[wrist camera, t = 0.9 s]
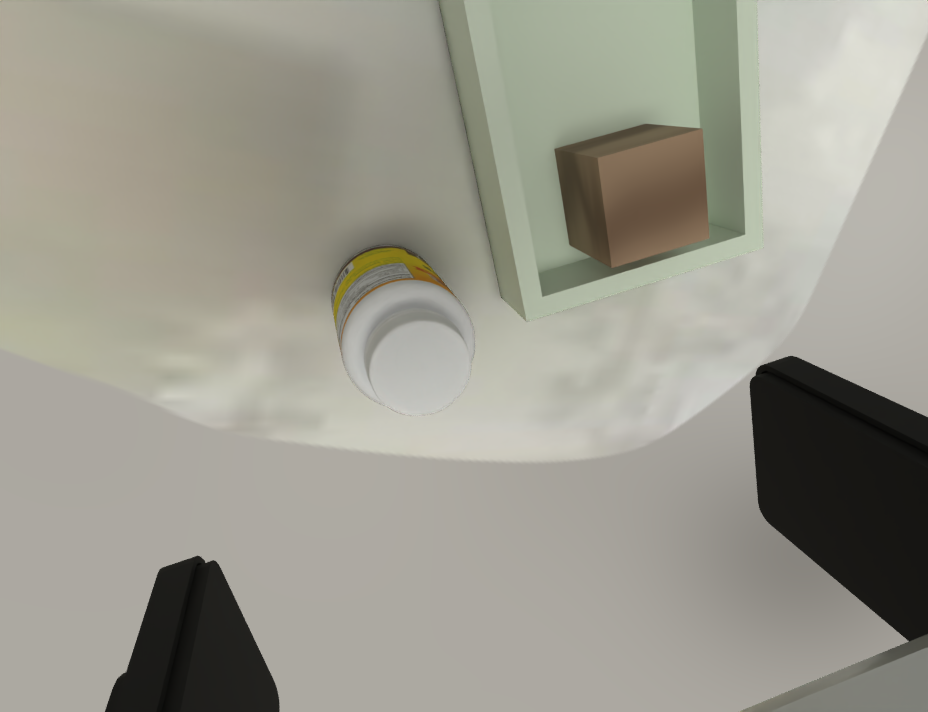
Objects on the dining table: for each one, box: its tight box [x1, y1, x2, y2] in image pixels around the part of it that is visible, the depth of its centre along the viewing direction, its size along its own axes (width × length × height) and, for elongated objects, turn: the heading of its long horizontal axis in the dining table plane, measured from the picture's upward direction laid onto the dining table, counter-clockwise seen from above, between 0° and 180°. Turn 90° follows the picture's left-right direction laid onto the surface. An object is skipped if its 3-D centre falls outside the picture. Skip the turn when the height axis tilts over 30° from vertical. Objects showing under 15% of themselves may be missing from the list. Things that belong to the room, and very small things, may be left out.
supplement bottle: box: [332, 245, 475, 416], centre depth 29 cm, size 6×6×10 cm
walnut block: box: [554, 124, 710, 268], centre depth 31 cm, size 5×5×5 cm
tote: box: [439, 0, 764, 322], centre depth 30 cm, size 20×13×4 cm, turn 13°
